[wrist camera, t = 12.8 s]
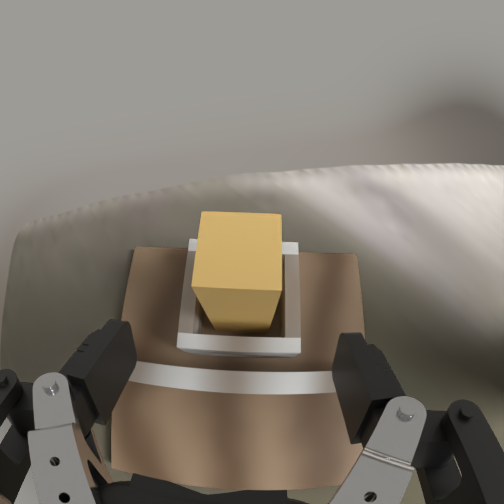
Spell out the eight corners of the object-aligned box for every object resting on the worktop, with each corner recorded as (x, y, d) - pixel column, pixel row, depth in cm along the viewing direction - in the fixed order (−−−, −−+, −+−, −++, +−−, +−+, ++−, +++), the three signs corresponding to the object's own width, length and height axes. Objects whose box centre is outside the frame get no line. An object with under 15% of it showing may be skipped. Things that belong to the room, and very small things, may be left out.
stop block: (268, 284, 23) (281, 214, 14) (267, 333, 21) (282, 290, 12) (219, 282, 23) (201, 211, 14) (215, 330, 21) (191, 286, 12)
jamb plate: (353, 259, 25) (370, 234, 21) (358, 477, 16) (380, 492, 12) (138, 251, 26) (121, 226, 21) (116, 465, 16) (91, 477, 12)
